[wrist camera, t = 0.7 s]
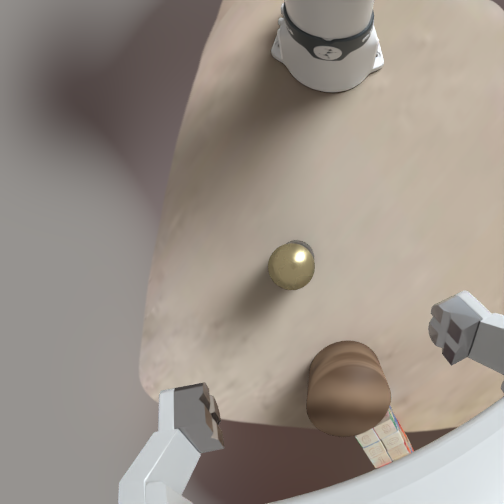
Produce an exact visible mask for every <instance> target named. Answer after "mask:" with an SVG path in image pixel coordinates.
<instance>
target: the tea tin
mask: <svg viewBox="0 0 504 504" xmlns="http://www.w3.org/2000/svg"><path fill="white" fill-rule="evenodd" d="M314 269H315V263H314V253H313V251H312V249H311V247H310V246H309V245H308V244H306V243H305V242H303V241H299V240H293V241H290V242H288V243H286V244H284V245H282V246H280V247H279V248H277V249H276V250H275V251H274V252H273V253H272V255H271V257H270V259H269V263H268V271H269V275H270V277H271V279H272V280H273V282H274V283H275V284H276V285H278V286H279V287H281V288H283V289H287V290H297V289H300V288H302V287H304V286H305V285H307V284H308V283H309V282H310V280H311V279H312V277H313V274H314Z"/></svg>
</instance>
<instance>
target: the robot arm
mask: <svg viewBox="0 0 504 504" xmlns="http://www.w3.org/2000/svg"><path fill="white" fill-rule="evenodd" d="M373 5H374V0H284V3H283V4H282V6H281V14H282V15H283V17H284V18H279V21H278V25H280V28H279V29H278V31H277V36H276V38H275V41H274V44H273V46H272V49H271V53H272V56H273V57H274V58H275V59H277V60H278V61H280V62H282V63H284V64H285V65H286V67H287V68H288V70H289V71H290V73H291V74H292V75H293V76H294V77H295V78H296V79H297V80H298V81H299V82H301V83H302V84H304V85H306V86H307V87H310V88H312V89H315V90H318V91H323V92H340V91H345V90H348V89H351V88H353V87H355V86H357V85H358V84H360V83H361V82H362V81H363V80H364V79H365V78H366V76H367V75H368V74H370V73H371V72H374V71H377V70H379V69H381V68H382V67H383V65H384V59H383V56H382V52H381V48H380V45H379V39H378V38H377V34H376V31H375V28H374V12H373ZM278 46H280V47H278ZM376 56H377V57H376ZM431 314H432V316H433V318H432V319H431V321H430V322H429V328H428V330H429V335H430V338H431V340H432V342H433V343H434V344H435V345H436V346H438V347H441V348H442V354H443V356H444V357H445V358H446V359H447V361H448V362H449V363H450V364H451V365H453V364H455V363H457V362H459V361H461V360H463V359H465V358H466V357H468V356H469V357H468V358H470V359H472V360H474V361H476V362H478V363H481V364H483V365H485V366H487V367H489V368H491V369H493V370H495V371H497V372H499V373H501V374H503V375H504V315H501V314H498V313H493V314H492V313H491V312H489V311H488V310H487V309H486V308H485V307H484V306H483V305H482V304H481V303H480V302H479V301H478V300H477V299H476V298H475V297H474V296H472V295H471V294H470V293H469V292H468V291H465V290H464V291H462V292H460V293H458V294H456V295H454V296H451V297H449V298H447V299H445V300H443V301H441V302H439V303H437V304H435V305H433V307H432V309H431ZM501 390H502V391H503V392H504V381H503V383H502V385H501ZM220 421H221V419H220V413H219V409H218V406H217V403H216V401H215V399H214V397H213V396H212V395H209V388H208V386H207V385H206V383H199V384H194V385H189V386H184V387H178V388H173V389H168V390H162V391H161V392H160V394H159V413H158V432H154V433H153V434H152V436H151V437H150V439H149V440H148V442H147V443H146V445H145V446H144V448H143V449H142V450H141V452H140V453H139V455H138V456H137V458H136V459H135V461H134V462H133V463H132V465H131V466H130V468H129V469H128V471H127V472H126V473H125V475H124V476H123V478H122V479H121V481H120V482H119V498H118V504H194V503H192V502H191V501H189V500H187V499H186V498H184V497H183V496H181V495H182V493H183V491H184V489H185V487H186V485H187V482H188V480H189V478H190V476H191V474H192V472H193V470H194V468H195V466H196V463H197V461H198V459H199V457H200V455H201V454H200V453H204V452H209V451H214V450H218V449H223V448H224V441H223V434H222V431H221V429H220V428H219V426H218V425H219V423H220ZM267 504H504V396H503V397H502V398H501V399H499V400H498V401H497V402H495V403H494V404H492V405H491V406H490V407H488V408H487V409H485V410H484V411H482V412H481V413H479V414H478V415H476V416H475V417H473V418H472V419H470V420H469V421H467V422H466V423H464V424H462V425H461V426H459V427H458V428H456V429H455V430H453V431H451V432H449V433H447V434H446V435H444V436H442V437H441V438H439V439H437V440H435V441H433V442H432V443H430V444H428V445H426V446H424V447H422V448H420V449H418V450H416V451H414V452H412V453H410V454H408V455H406V456H404V457H402V458H400V459H398V460H396V461H393V462H391V463H389V464H387V465H384V466H382V467H380V468H377V469H375V470H373V471H370V472H368V473H365V474H363V475H360V476H358V477H355V478H352V479H350V480H347V481H344V482H341V483H338V484H335V485H332V486H329V487H327V488H323V489H320V490H317V491H314V492H310V493H307V494H303V495H300V496H296V497H292V498H288V499H284V500H280V501H276V502H272V503H267Z"/></svg>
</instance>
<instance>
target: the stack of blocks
mask: <svg viewBox="0 0 504 504" xmlns="http://www.w3.org/2000/svg"><path fill="white" fill-rule="evenodd" d="M355 438H356V439H357V441H358V442H359V443H360V445H361V446H362V448H363V450H364V451H365V453H366V455H367V456H368V458H369V459H370V461H371V462H372V464H373V465H374V467H375V468H376V469H377V468H380V467H382V466H384V465H387V464H389V463H391V462H393V461H396V460H398V459H400V458H402V457H404V456H406V455H408V454H410V453H412V452H414V450H413V448H412V446H411V444H410V442H409V440H408V438H407V436H406V434H405V433H404V431H403V429H402V427H401V425H400V424H399V422H398V420H397V418H396V415H395V413H394V411H393V409H392V407H391V405H390V407H389V409H388V412H387V413H386V415H385V417H384V418H383V419H382V420H381V421H380V422H379V423H378V424H377V425H376V426H375V427H373V428H372V429H370V430H368V431H366V432H364V433H362V434H359V435H355Z"/></svg>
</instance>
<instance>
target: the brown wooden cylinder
mask: <svg viewBox="0 0 504 504" xmlns="http://www.w3.org/2000/svg"><path fill="white" fill-rule="evenodd" d="M390 403H391V392H390V388H389V386H388V383H387V380H386V378H385V375H384V373H383V371H382V368H381V366H380V363H379V361H378V358H377V356H376V355H375V353H374V352H373V351H372V350H371V349H370V348H369V347H367V346H366V345H364V344H362V343H359V342H355V341H340V342H336V343H333V344H331V345H329V346H327V347H325V348H324V349H323V350H321V351H320V352H319V353H318V354H317V355H316V357H315V358H314V360H313V361H312V363H311V366H310V370H309V381H308V393H307V404H306V406H307V414H308V417H309V419H310V420H311V422H312V423H313V425H314V426H315V427H316V428H318V429H319V430H320V431H322V432H324V433H326V434H329V435H333V436H338V437H349V436H355V435H359V434H362V433H364V432H366V431H368V430H370V429H372V428H373V427H375V426H376V425H377V424H378V423H379V422H380V421H381V420H382V419H383V418H384V417H385V415H386V413H387V412H388V409H389V407H390Z"/></svg>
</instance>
